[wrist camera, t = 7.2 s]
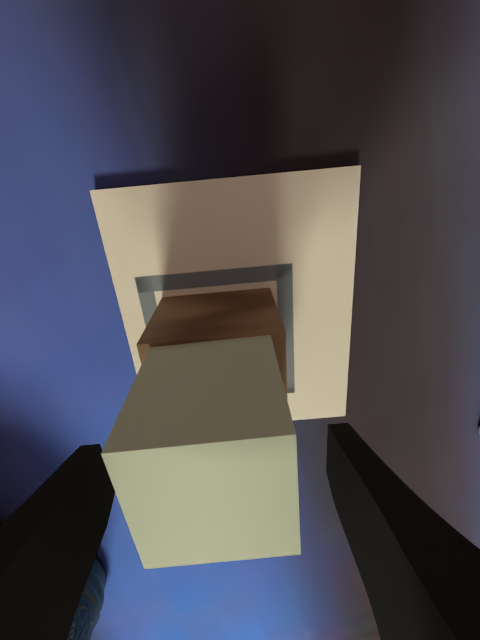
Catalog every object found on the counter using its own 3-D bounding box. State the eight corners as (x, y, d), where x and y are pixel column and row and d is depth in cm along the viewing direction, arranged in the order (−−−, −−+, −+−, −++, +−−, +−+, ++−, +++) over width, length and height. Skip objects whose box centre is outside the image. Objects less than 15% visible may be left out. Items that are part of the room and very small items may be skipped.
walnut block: (270, 287, 16) (285, 331, 12) (274, 377, 19) (288, 443, 14) (162, 297, 17) (136, 344, 12) (179, 386, 19) (163, 454, 14)
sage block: (270, 334, 12) (295, 435, 7) (277, 428, 14) (300, 554, 9) (149, 347, 12) (101, 453, 7) (172, 439, 14) (144, 569, 9)
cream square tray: (356, 165, 15) (361, 165, 14) (342, 409, 21) (345, 416, 20) (94, 189, 15) (89, 190, 14) (153, 425, 21) (151, 432, 20)
